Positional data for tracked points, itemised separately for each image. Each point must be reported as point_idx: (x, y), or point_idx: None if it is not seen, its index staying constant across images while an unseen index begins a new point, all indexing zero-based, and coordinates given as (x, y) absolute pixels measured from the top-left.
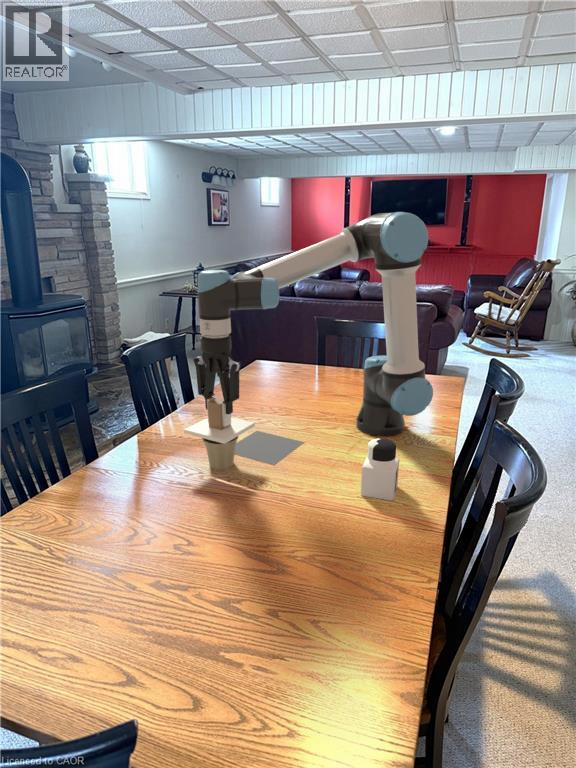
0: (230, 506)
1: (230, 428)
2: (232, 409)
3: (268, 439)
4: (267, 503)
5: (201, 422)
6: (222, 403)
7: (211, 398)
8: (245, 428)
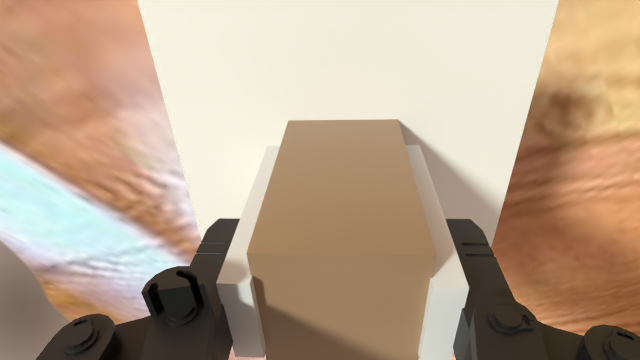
0: (513, 249)
1: (429, 164)
2: (488, 248)
3: None
4: (622, 196)
5: (204, 179)
6: (429, 355)
7: (249, 328)
8: (527, 108)
